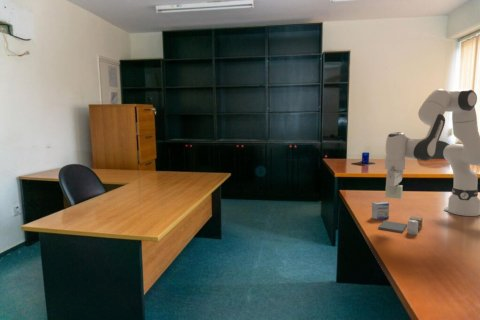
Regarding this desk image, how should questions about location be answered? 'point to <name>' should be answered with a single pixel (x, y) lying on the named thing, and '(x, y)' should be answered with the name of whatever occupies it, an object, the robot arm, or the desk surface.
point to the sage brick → (397, 192)
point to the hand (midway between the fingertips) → (393, 193)
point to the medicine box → (380, 210)
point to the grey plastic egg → (412, 227)
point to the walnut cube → (418, 221)
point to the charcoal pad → (392, 226)
